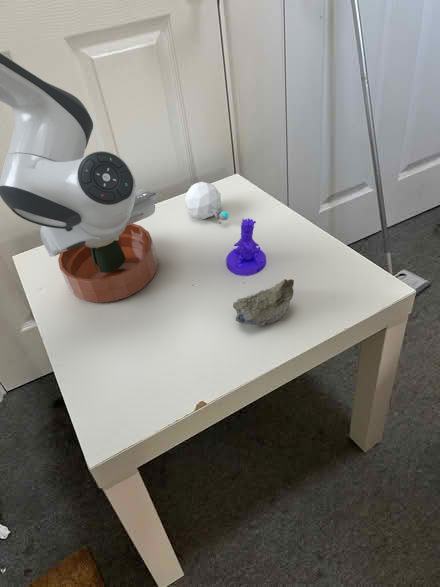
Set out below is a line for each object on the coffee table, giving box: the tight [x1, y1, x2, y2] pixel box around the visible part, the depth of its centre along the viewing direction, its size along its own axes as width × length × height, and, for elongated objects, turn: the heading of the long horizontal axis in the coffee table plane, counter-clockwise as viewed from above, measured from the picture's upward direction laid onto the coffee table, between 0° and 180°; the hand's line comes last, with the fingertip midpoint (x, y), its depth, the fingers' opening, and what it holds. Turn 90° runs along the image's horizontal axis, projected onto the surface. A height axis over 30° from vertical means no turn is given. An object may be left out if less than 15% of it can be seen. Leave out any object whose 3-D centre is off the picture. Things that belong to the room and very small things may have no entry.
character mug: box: [85, 236, 126, 273], centre depth 87 cm, size 11×7×13 cm, turn 52°
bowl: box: [57, 223, 158, 303], centre depth 91 cm, size 18×18×6 cm
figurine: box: [225, 217, 267, 277], centre depth 88 cm, size 8×8×10 cm
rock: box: [232, 278, 295, 328], centre depth 78 cm, size 11×6×10 cm
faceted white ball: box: [184, 181, 229, 221], centre depth 101 cm, size 8×8×12 cm
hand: (98, 233), depth 87 cm, fingers closed on character mug, 7 cm apart
